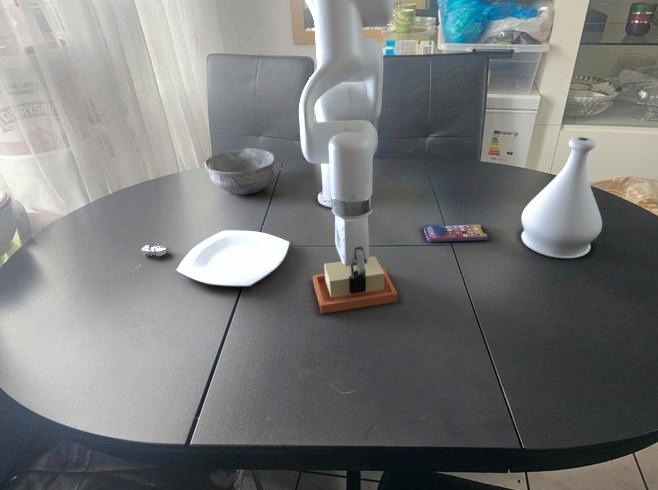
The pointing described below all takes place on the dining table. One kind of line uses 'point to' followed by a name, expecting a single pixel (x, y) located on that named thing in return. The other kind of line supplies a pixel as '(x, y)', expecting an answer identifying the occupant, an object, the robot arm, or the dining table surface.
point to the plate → (234, 258)
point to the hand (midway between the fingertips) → (353, 281)
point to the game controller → (153, 250)
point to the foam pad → (340, 275)
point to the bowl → (241, 170)
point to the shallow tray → (352, 296)
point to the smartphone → (455, 232)
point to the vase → (564, 209)
